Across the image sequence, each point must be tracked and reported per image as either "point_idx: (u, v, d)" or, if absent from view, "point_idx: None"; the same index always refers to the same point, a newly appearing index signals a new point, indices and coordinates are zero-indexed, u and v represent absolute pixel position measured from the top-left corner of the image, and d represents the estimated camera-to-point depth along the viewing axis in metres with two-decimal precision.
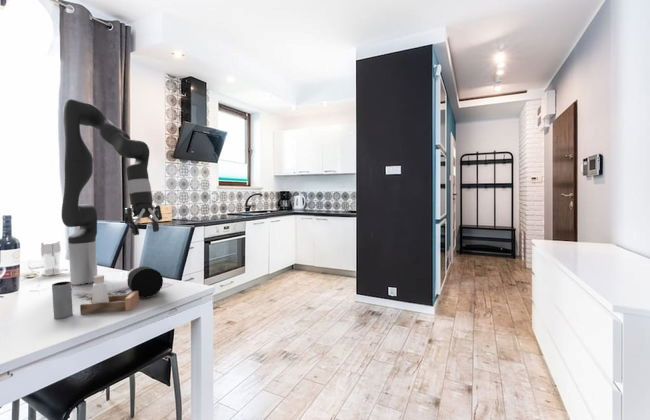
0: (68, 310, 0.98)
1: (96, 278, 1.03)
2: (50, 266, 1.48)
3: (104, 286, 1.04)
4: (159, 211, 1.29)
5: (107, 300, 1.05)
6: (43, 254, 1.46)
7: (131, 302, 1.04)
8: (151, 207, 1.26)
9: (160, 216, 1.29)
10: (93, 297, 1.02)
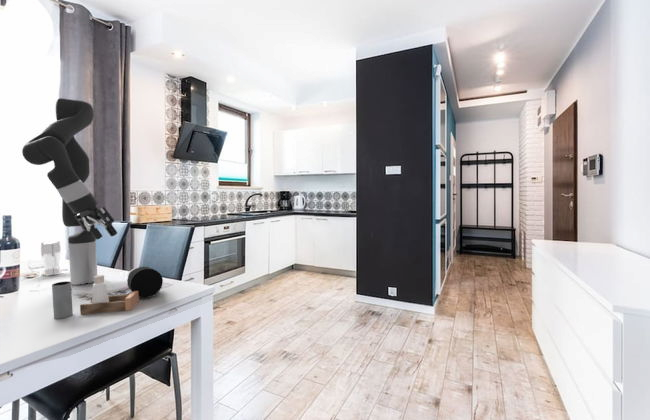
0: (68, 310, 0.98)
1: (96, 278, 1.03)
2: (50, 266, 1.48)
3: (104, 286, 1.04)
4: (101, 216, 1.06)
5: (107, 300, 1.05)
6: (43, 254, 1.46)
7: (131, 302, 1.04)
8: (92, 213, 1.07)
9: (105, 221, 1.07)
10: (93, 297, 1.02)
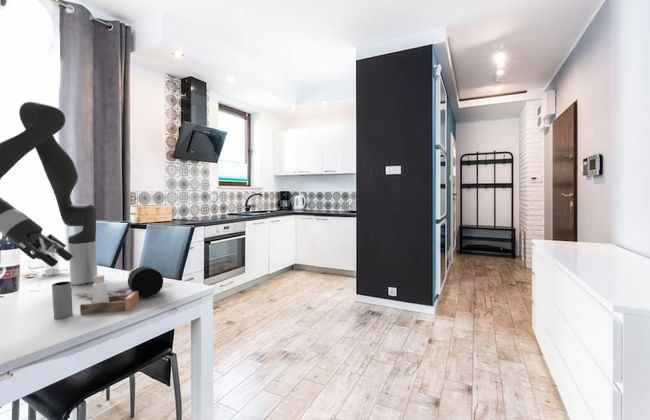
0: (68, 310, 0.98)
1: (96, 278, 1.03)
2: (50, 266, 1.48)
3: (104, 286, 1.04)
4: None
5: (107, 300, 1.05)
6: None
7: (131, 302, 1.04)
8: None
9: None
10: (93, 297, 1.02)
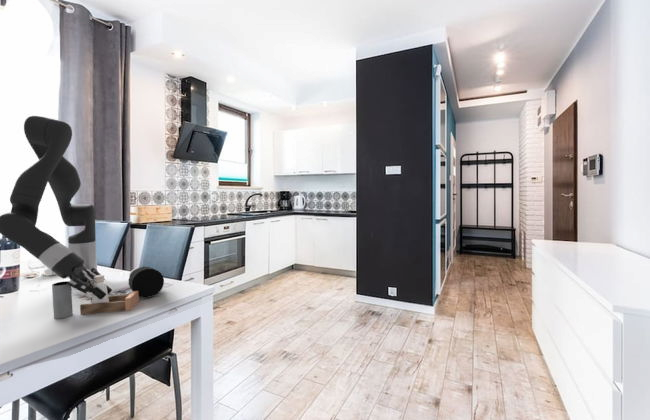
0: (68, 310, 0.98)
1: (96, 278, 1.03)
2: None
3: (104, 286, 1.04)
4: None
5: (107, 300, 1.05)
6: None
7: (131, 302, 1.04)
8: None
9: None
10: (93, 297, 1.02)
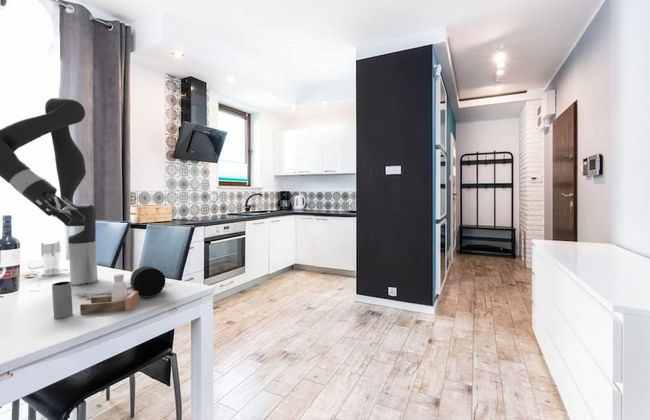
0: (68, 310, 0.98)
1: (116, 277, 1.04)
2: (50, 266, 1.48)
3: (124, 285, 1.05)
4: None
5: None
6: (43, 254, 1.46)
7: (131, 302, 1.04)
8: None
9: None
10: (113, 296, 1.04)
